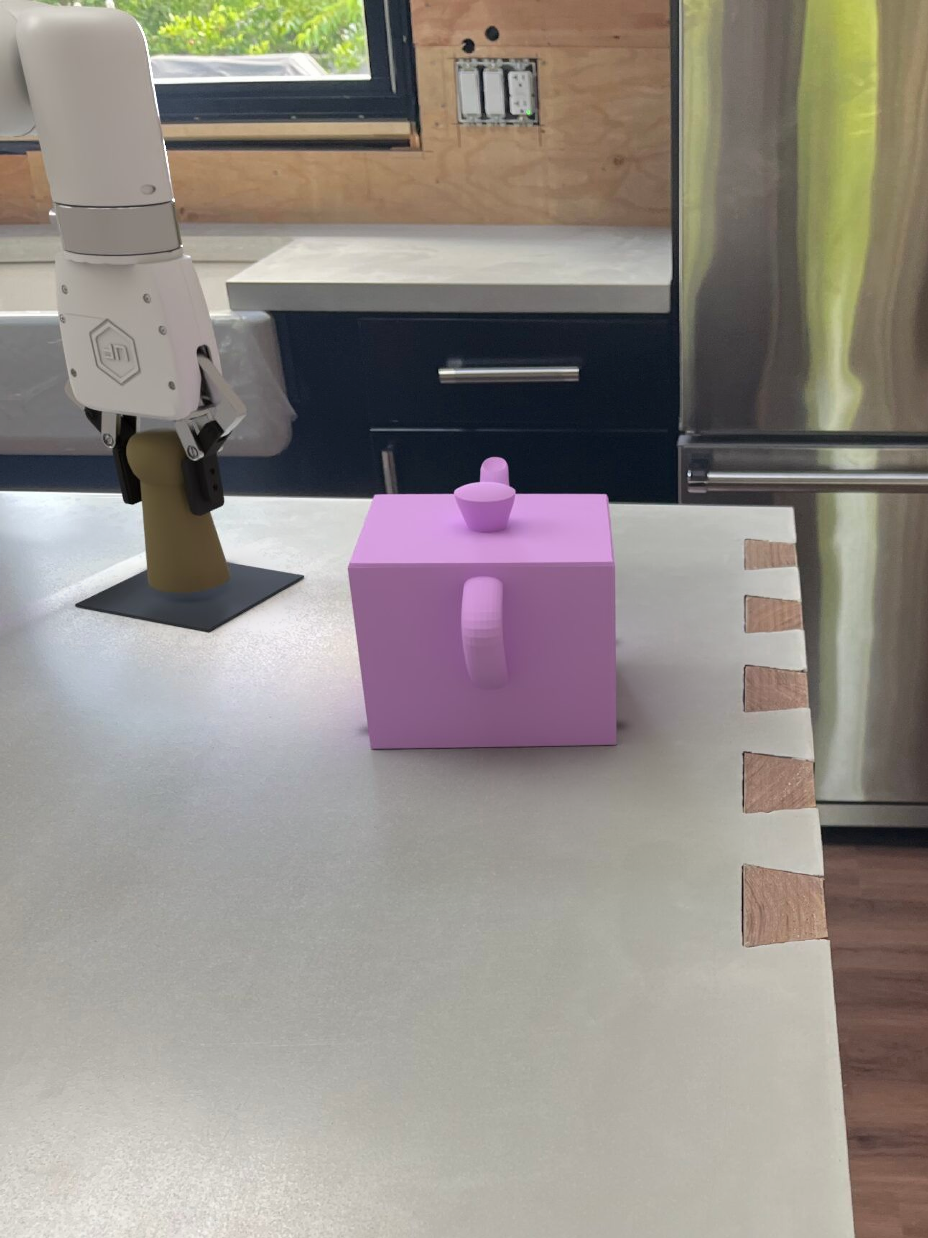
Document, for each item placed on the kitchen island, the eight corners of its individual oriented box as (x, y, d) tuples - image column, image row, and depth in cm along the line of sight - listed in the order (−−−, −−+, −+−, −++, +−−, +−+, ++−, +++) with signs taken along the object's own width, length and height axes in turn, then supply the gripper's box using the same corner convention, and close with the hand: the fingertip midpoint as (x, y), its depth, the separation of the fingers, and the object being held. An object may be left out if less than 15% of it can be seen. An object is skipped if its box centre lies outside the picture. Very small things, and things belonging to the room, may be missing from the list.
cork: (148, 568, 103) (116, 422, 96) (229, 561, 104) (203, 417, 98) (147, 596, 98) (114, 444, 92) (232, 588, 99) (205, 439, 93)
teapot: (606, 621, 99) (604, 428, 91) (619, 782, 78) (617, 552, 70) (402, 623, 97) (381, 427, 89) (361, 787, 77) (329, 553, 69)
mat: (75, 606, 99) (74, 604, 98) (179, 556, 108) (179, 553, 108) (208, 632, 95) (208, 629, 95) (304, 577, 105) (304, 575, 104)
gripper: (-25, 229, 87) (46, 504, 97) (191, 250, 82) (240, 536, 92) (57, 216, 93) (115, 476, 103) (263, 234, 88) (302, 506, 98)
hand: (174, 502), depth 98 cm, fingers closed on cork, 5 cm apart
